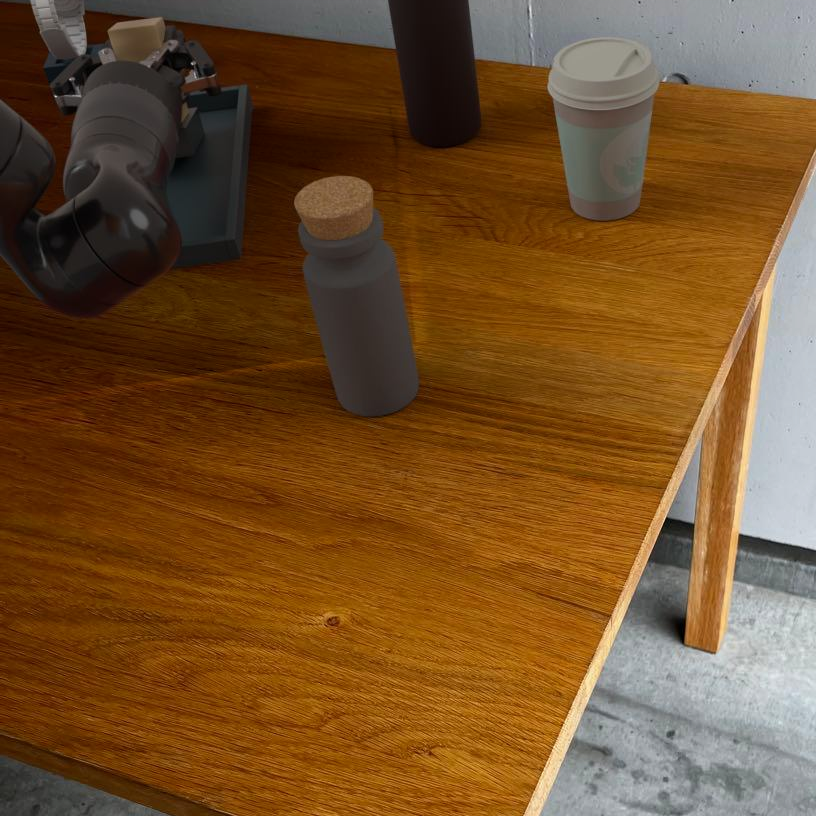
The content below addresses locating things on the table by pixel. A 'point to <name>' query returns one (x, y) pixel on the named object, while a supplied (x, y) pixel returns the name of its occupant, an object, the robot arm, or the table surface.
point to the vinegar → (437, 69)
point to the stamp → (135, 46)
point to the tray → (213, 180)
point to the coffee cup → (604, 122)
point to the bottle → (356, 297)
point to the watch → (62, 33)
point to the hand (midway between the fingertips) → (147, 40)
